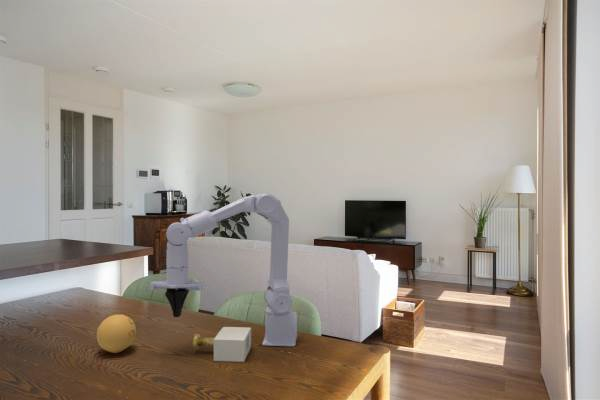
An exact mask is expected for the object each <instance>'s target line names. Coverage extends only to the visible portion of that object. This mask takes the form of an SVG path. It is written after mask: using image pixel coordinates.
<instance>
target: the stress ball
mask: <svg viewBox="0 0 600 400" xmlns="http://www.w3.org/2000/svg"><path fill="white" fill-rule="evenodd" d="M136 332H137V328H136V324H135V322H134V320H133V318H131V317H129V316H127V315H126V314H123V313H121V314H113V315H110V316H108V317H106V318H105V319H103V321H102V322H100V324H99V326H98V328H97V331H96V340H97V343H98V345H99V346H100V347H101V348H102V350H104V351H106V352H109V353H112V354H119V353H121V352H122V351H124V350H126V349H127V348H128V347H130V346H131V345H132V344H133V342H134V340H135V338H136V335H137V333H136Z"/></svg>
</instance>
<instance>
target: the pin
mask: <svg viewBox="0 0 600 400" xmlns="http://www.w3.org/2000/svg"><path fill="white" fill-rule="evenodd" d="M214 338H215V337H202V335H201V334H200V333H194V334H193V336H192V340H191V346H192V350H199V349H200V348H201V347H214Z"/></svg>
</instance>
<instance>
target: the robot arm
mask: <svg viewBox="0 0 600 400" xmlns="http://www.w3.org/2000/svg"><path fill="white" fill-rule="evenodd" d="M240 213H254V214H255V213H256V214H257V215H259V216H261V217H263V218H264V219H265V220H266V221H267V223H269V224H270V225H271V235H270V237H271V240H270V262H269V263H270V265H269V279H268V281H267V288H266V290H265V292H264V296H263V297H264V301H265V303H266V305H267V306H266V308H265V312H264V313H265V318H264V319H265V320H264V321H265V327H264V328H265V329H264V331H265V333H264V338H263V341H262V344H261V345H262V346H266V347H268V346H271V347H272V346H273V347H275V346H276V347H295V346H296V345H297V339H298V331H297V330H298V327H297V326H298V314H297V311H292V310H291V308H292V306H293V300H292V297H291V294H290V286H289V283H288V261H289V260H288V257H289V255H288V254H289V234H290V233H289V232H290V218H289V216H288V214H287V213H286V211H285V209H284V207H283V206H282V203H281V200H279V198H278V197H276V196H274V195H273V194H272V193H269V192H265V193H263V192H257V193H255V194H253V195H248V196H247V195H246V196H245V197H242V198H239V199H237V200H235V201H233V202H231V203H229V204H226V205H224V206H222V207H220V208H219V209H216V210H213V211H209V210H208V209H207V210H206V209H205V210H201V209H199V210H196V214H193V215H190V216H188V217H186V218H184V217H181V218H180V219H179V220H180V222H177V221H176V222H173V223H171V224H170V225H169V226H168V227H167V229H166V231H165V232H166V233H165V234H166V235H165V236H166V238H167V243H166V260H165V261H166V270H165V271H166V280H160V281H158V280H156V281H151V282H150V283H149V290H151V291H154V290H165V293H164V295H165V297H166V299H167V300H168V303H169V304H170V307H171V311H172V315H173V318H180V317H181V316H182V311H183V307H184V304H185V302H186V301H185V300H186V298H187V297H188V294H189V292H190V291H198V292H204V290H205V282H204V281H203V282H201V281H193V280H189V249H188V241H189V239H190V238H192V239H194V238H196V237H198V236H200V235H203V234H205V233H207V232H210V231H212V230H214V229H215V226H216V224H217V223H218V222H221V221H223V220H226V219H228V218H230V217H234V216H235V215H238V214H240Z"/></svg>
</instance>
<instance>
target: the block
mask: <svg viewBox="0 0 600 400" xmlns="http://www.w3.org/2000/svg"><path fill="white" fill-rule="evenodd" d="M213 338H214V346H213V361H214V362H239V363H241V362H242V363H244V362H245V361H246V358H247V357H248V355H249V352H250V350H251V347H252V327H247V326H246V327H244V326H243V327H242V326H241V327H240V326H237V327H236V326H223V327H222V328H221V329H220V330H219V332H218V333H217V334H216V336H215V337H213Z"/></svg>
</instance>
